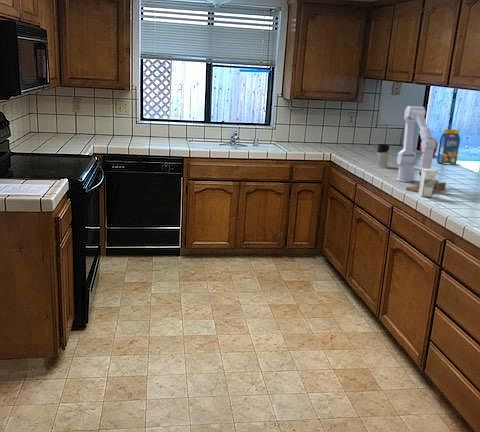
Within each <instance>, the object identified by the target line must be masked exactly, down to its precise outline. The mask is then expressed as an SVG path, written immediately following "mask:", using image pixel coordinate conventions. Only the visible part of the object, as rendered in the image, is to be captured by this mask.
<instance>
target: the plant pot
mask: <svg viewBox="0 0 480 432" xmlns="http://www.w3.org/2000/svg"><path fill="white" fill-rule="evenodd" d="M421 143H422V140H421V141H420V143H419V144H420V145H419V147H420V148H419V149H420V156H421V157H422V151H421V150H422V147H421ZM438 148H439V142H438V141H437V146H436V148H435V149H434V151H433V158H435V157H436V156H437V155H436V153H437V151H438Z"/></svg>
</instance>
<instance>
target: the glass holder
mask: <svg viewBox="0 0 480 432" xmlns="http://www.w3.org/2000/svg"><path fill="white" fill-rule="evenodd" d="M377 145H378V146H377V151H376V147H375V146H373V145H370V146H369V147H368V149H367V150H368V151H367V153H368V156H369V158H370V159H371V160H373V162H374V167H375V168H379V169H388V162H389V155H390V145H389V144H385V143H384V144H383V143H381V144H377ZM371 147H372V148H374V151H373V152H374V153H376V157H375V158H376V159H375V160H374V158H372V157H371V155H370V148H371Z"/></svg>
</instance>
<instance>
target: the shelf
mask: <svg viewBox="0 0 480 432" xmlns="http://www.w3.org/2000/svg"><path fill="white" fill-rule="evenodd" d="M446 186H447V182H444V181H443V182H442V181H441V182H438V183H436V184H434V189H433V193H434V192H440V191H445V190H446ZM405 190H406V191H410V192H414V193H417V194H418V190H419V188H417V185H412V186H406V188H405Z"/></svg>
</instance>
